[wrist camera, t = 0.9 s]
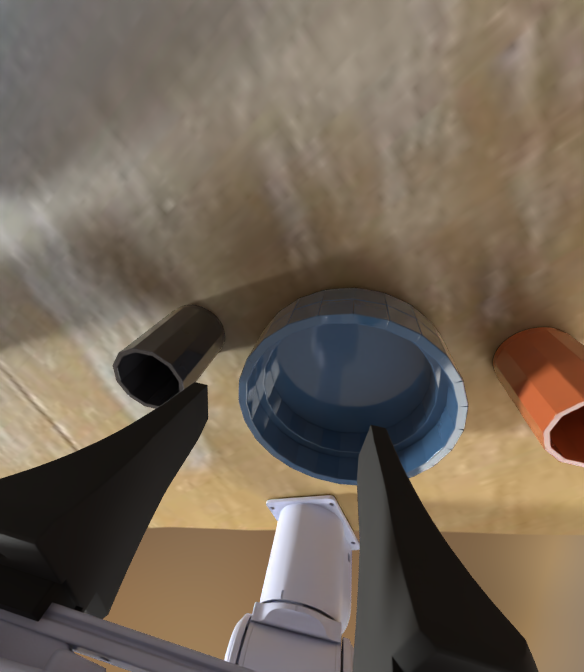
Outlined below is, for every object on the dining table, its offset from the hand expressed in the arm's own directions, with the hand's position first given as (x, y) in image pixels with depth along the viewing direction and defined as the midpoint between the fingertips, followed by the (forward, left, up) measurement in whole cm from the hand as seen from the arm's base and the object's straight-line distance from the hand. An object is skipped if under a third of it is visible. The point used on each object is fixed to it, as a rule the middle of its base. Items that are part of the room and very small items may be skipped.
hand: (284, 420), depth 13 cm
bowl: (-5, -1, -10) cm, 11 cm away
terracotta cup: (-7, -13, -10) cm, 18 cm away
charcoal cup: (+2, +9, -10) cm, 14 cm away
